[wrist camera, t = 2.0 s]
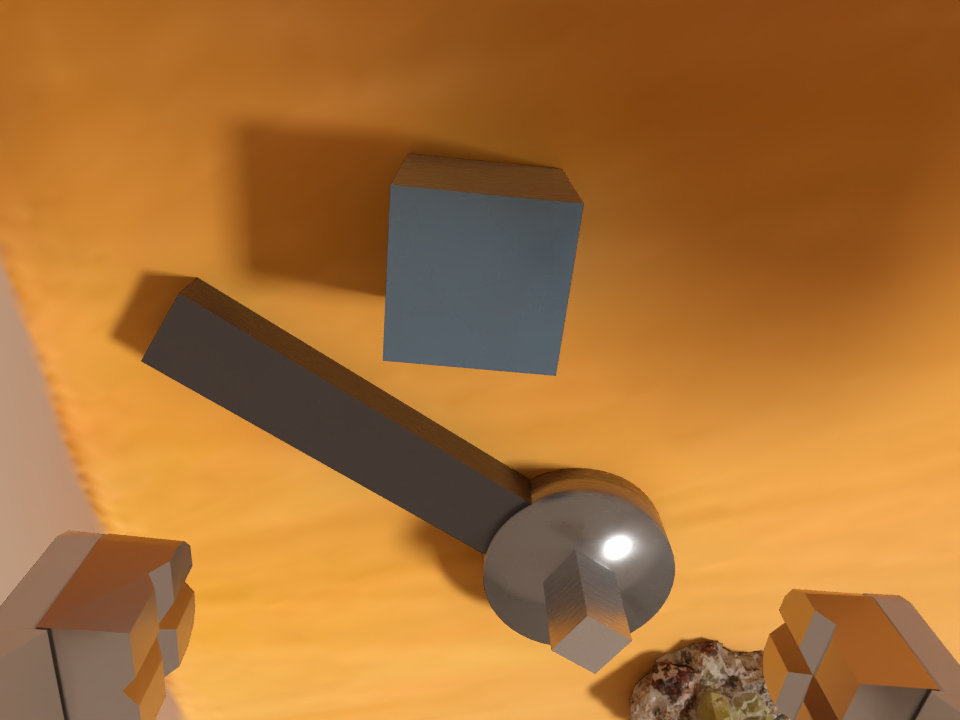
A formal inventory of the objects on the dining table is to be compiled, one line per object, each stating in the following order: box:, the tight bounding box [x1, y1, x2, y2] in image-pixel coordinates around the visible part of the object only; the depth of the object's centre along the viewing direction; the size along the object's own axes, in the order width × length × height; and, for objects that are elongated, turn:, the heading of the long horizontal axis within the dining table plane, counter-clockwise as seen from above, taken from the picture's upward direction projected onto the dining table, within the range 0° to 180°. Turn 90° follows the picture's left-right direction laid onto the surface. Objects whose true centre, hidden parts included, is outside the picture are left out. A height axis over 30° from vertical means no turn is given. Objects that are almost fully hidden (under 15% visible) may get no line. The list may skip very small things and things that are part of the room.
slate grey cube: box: [383, 154, 584, 376], centre depth 26 cm, size 6×6×6 cm
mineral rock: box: [629, 642, 789, 720], centre depth 39 cm, size 11×4×8 cm
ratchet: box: [141, 278, 675, 674], centre depth 30 cm, size 26×9×6 cm, turn 54°
